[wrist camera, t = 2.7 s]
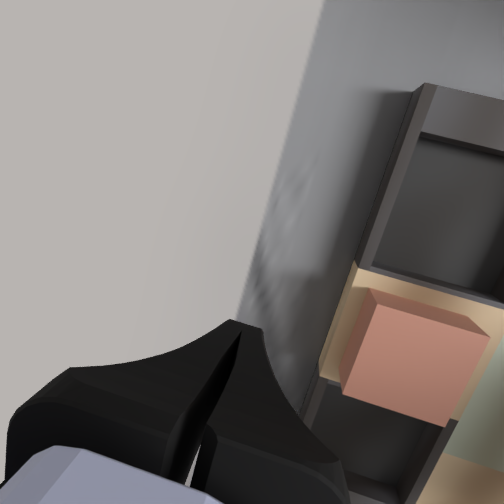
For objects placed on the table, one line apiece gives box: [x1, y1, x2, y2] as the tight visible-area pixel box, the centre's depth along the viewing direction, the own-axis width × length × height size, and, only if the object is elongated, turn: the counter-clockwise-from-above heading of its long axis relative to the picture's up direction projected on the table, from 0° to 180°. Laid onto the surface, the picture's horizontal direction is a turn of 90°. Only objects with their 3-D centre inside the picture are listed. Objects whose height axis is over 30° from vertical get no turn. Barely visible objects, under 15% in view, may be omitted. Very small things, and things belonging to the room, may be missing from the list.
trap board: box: [299, 83, 504, 504], centre depth 16 cm, size 14×22×3 cm, turn 166°
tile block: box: [338, 288, 491, 427], centre depth 15 cm, size 4×4×2 cm
